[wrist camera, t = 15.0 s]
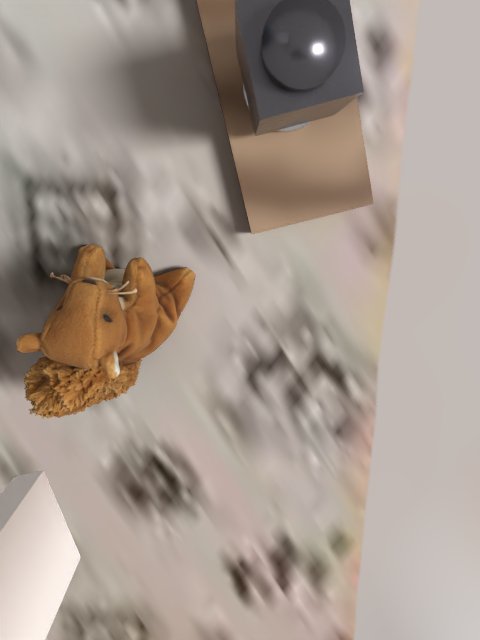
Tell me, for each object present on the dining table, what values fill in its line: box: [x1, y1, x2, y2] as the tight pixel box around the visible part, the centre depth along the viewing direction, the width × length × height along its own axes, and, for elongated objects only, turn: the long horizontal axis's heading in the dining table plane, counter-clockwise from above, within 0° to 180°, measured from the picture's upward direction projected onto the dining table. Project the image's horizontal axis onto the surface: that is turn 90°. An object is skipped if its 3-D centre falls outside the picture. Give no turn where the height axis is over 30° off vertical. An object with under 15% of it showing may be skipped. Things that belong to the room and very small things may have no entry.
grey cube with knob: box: [235, 0, 364, 136], centre depth 28 cm, size 6×6×9 cm
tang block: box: [196, 0, 374, 234], centre depth 32 cm, size 20×10×6 cm, turn 14°
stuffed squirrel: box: [16, 244, 195, 419], centre depth 33 cm, size 10×14×13 cm
